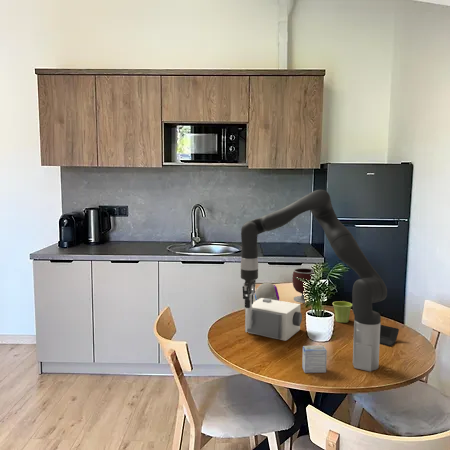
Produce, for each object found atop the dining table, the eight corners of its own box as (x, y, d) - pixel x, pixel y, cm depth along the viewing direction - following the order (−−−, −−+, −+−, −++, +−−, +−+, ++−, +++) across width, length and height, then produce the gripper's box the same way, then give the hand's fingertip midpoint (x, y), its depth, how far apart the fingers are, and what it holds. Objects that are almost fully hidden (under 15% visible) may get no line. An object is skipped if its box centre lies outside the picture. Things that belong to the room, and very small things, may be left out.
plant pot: (328, 320, 211) (328, 303, 210) (339, 316, 217) (340, 299, 217) (344, 325, 204) (344, 307, 203) (355, 321, 210) (356, 304, 209)
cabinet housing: (290, 341, 184) (291, 312, 183) (245, 332, 196) (245, 304, 194) (304, 330, 198) (304, 302, 196) (260, 321, 209) (261, 295, 208)
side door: (276, 341, 182) (277, 299, 180) (243, 334, 190) (243, 294, 188) (281, 338, 186) (282, 297, 184) (248, 331, 194) (248, 291, 192)
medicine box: (323, 367, 160) (323, 345, 159) (326, 373, 155) (327, 349, 154) (301, 367, 159) (302, 345, 158) (304, 373, 155) (305, 350, 154)
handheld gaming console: (364, 338, 184) (371, 317, 188) (366, 343, 190) (373, 323, 193) (392, 348, 178) (399, 325, 182) (393, 353, 184) (399, 331, 188)
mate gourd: (291, 302, 242) (291, 267, 239) (293, 295, 255) (293, 262, 253) (319, 304, 238) (320, 268, 236) (319, 297, 251) (320, 263, 249)
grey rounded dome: (279, 315, 219) (280, 286, 218) (254, 314, 220) (254, 285, 219) (278, 307, 232) (279, 280, 231) (254, 307, 233) (255, 279, 232)
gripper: (253, 271, 179) (253, 311, 181) (261, 265, 192) (261, 302, 194) (236, 270, 181) (236, 309, 183) (245, 264, 195) (244, 300, 197)
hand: (249, 305), depth 189 cm, fingers open, 5 cm apart
